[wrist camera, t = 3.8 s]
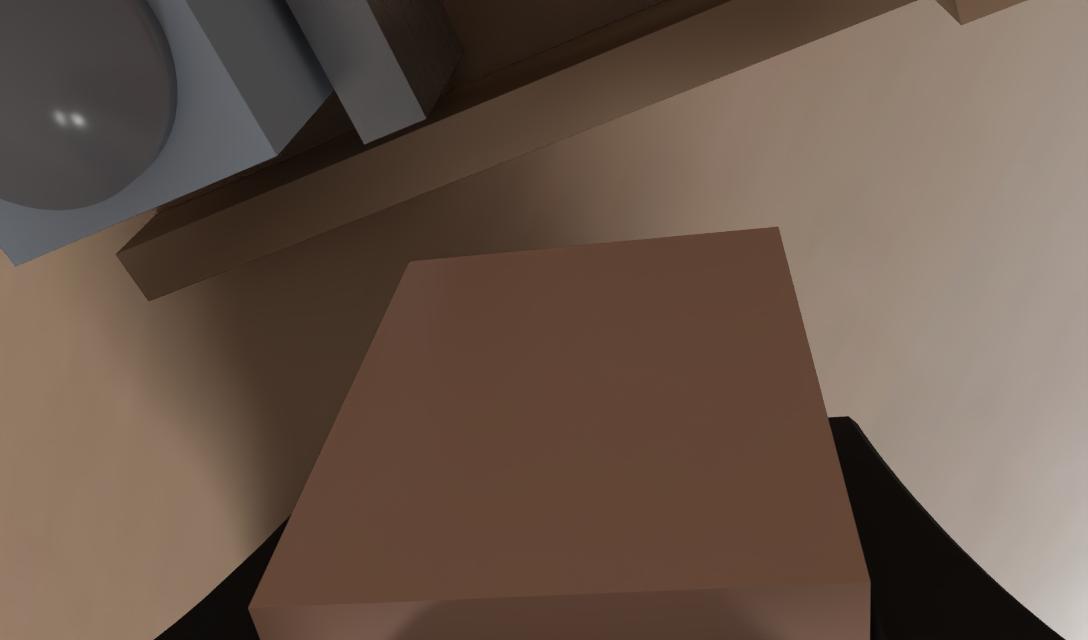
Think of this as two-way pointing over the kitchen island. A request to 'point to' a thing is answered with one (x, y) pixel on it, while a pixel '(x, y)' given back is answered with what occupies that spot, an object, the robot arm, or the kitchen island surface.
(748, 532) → the terracotta jar
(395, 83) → the pusher
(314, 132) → the kitchen island surface
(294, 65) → the slate jar
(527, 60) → the lane
